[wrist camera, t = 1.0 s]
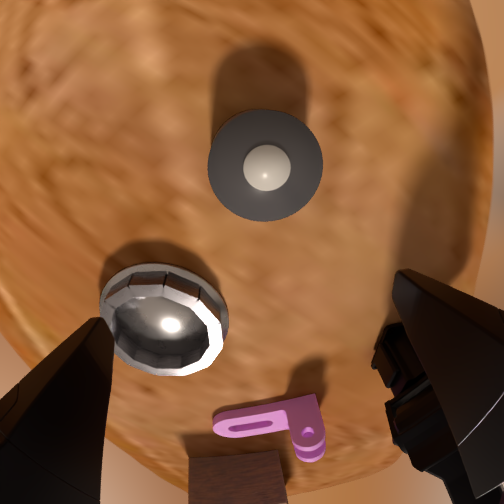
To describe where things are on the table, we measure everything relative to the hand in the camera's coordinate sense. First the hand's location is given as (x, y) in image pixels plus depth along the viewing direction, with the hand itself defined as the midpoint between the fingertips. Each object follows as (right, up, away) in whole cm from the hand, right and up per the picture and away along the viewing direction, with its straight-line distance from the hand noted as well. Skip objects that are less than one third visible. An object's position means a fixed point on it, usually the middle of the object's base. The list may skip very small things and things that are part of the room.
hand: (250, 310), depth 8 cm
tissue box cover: (-1, -41, +37) cm, 55 cm away
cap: (0, +8, +10) cm, 13 cm away
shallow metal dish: (-8, -4, +15) cm, 18 cm away
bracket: (+2, -18, +25) cm, 31 cm away
